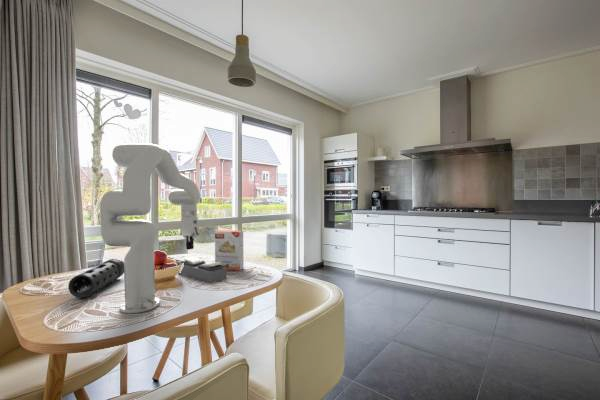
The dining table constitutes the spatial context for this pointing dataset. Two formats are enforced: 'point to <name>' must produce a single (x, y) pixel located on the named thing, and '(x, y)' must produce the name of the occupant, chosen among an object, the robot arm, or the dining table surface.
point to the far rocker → (192, 260)
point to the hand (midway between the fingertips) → (190, 248)
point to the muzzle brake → (96, 278)
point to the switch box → (204, 272)
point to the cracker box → (229, 249)
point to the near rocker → (210, 264)
